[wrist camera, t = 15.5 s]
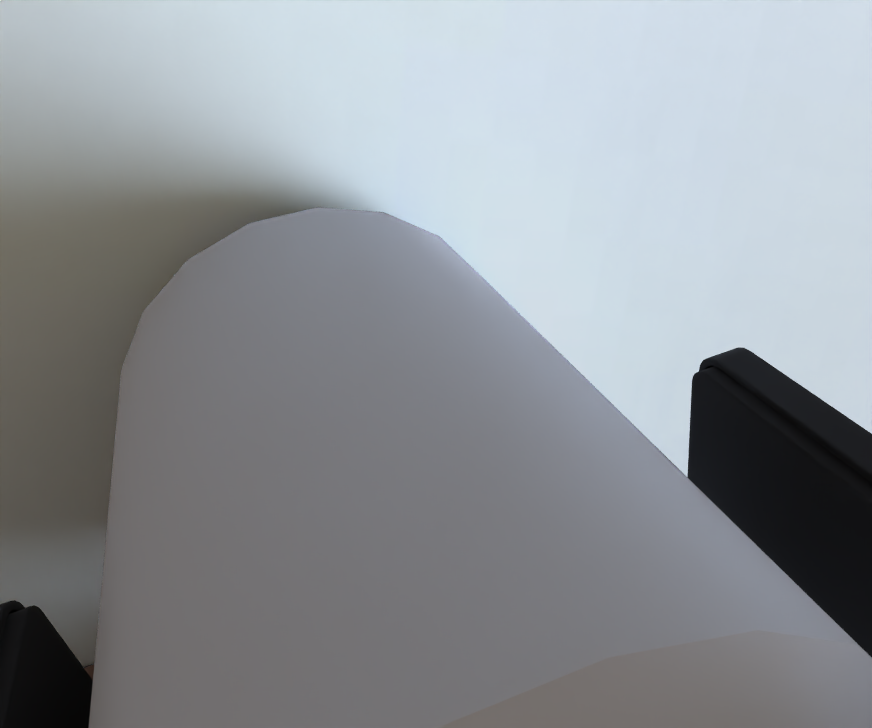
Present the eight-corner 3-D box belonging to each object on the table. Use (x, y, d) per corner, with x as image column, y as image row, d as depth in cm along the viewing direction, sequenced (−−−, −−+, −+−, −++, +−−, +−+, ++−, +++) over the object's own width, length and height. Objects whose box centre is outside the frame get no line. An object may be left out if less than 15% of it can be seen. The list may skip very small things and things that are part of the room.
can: (156, 143, 11) (146, 1249, 2) (538, 240, 15) (1309, 809, 5) (96, 509, 14) (-41, 1722, 4) (427, 523, 18) (774, 1247, 8)
